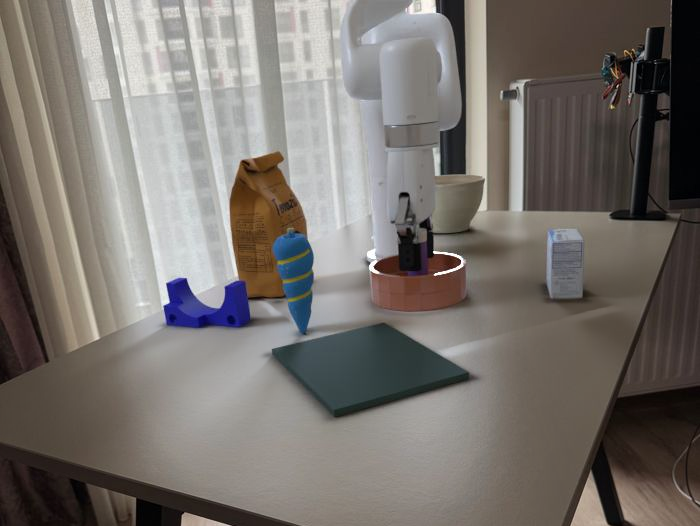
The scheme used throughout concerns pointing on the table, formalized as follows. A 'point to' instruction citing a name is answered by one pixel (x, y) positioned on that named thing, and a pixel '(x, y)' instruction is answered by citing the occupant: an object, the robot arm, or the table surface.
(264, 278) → the coffee package
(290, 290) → the ornament
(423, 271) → the glue stick
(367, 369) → the mat
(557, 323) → the table surface
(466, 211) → the planter bowl
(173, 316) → the blue pipe cradle
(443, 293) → the bowl
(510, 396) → the table surface
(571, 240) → the medicine box
